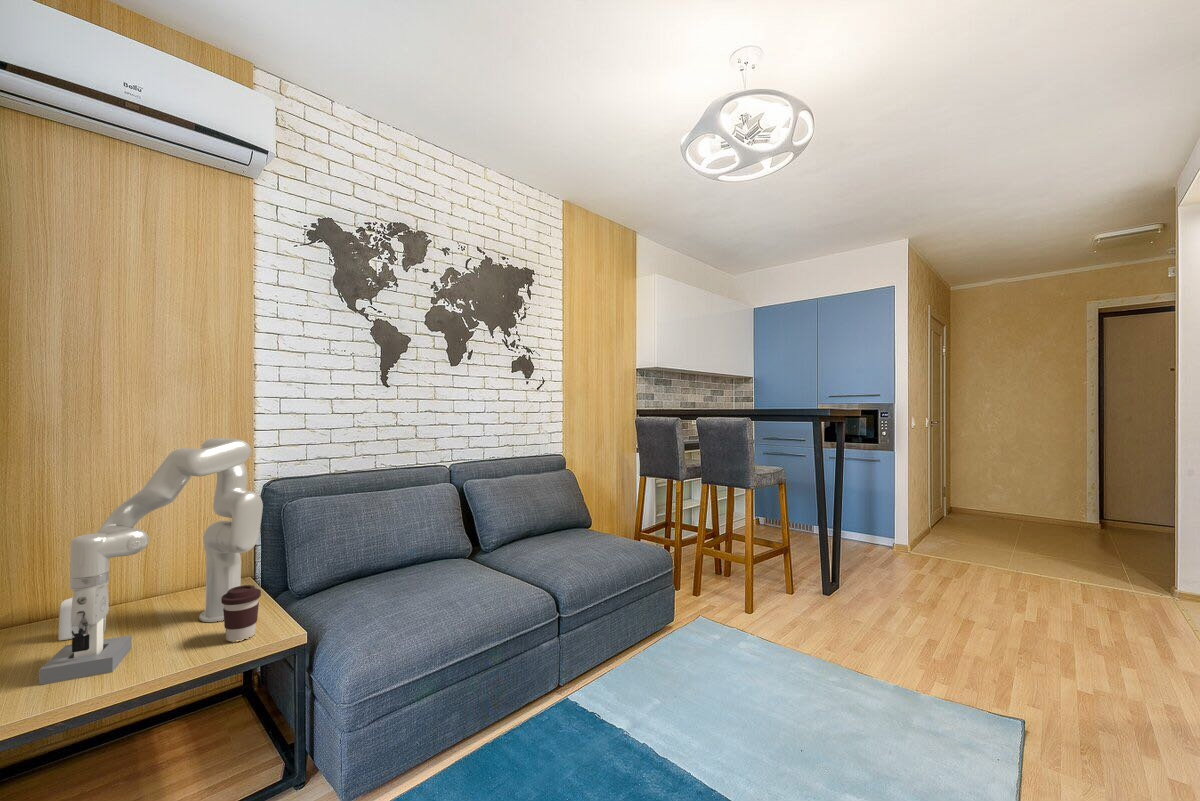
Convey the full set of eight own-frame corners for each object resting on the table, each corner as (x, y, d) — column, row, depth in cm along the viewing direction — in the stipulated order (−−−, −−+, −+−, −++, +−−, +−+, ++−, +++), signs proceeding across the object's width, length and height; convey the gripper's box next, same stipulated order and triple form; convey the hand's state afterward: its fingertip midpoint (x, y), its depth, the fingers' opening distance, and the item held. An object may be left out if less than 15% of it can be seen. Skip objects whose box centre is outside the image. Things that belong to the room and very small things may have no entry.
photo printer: (107, 629, 159) (108, 590, 159) (103, 634, 156) (104, 594, 156) (61, 637, 154) (61, 596, 154) (56, 642, 150) (56, 601, 150)
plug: (103, 660, 141) (103, 617, 141) (96, 667, 137) (96, 623, 137) (80, 663, 139) (81, 620, 139) (73, 671, 135) (74, 626, 135)
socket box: (131, 648, 147) (131, 635, 147) (112, 672, 135) (112, 657, 135) (65, 659, 141) (65, 645, 141) (39, 685, 128) (39, 669, 128)
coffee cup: (254, 627, 162) (254, 580, 162) (264, 636, 156) (265, 588, 156) (216, 638, 154) (217, 589, 154) (226, 648, 148) (227, 597, 148)
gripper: (94, 588, 132) (93, 654, 132) (120, 568, 147) (119, 627, 147) (54, 593, 128) (53, 660, 128) (85, 572, 143) (84, 632, 143)
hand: (88, 642), depth 138 cm, fingers open, 9 cm apart
